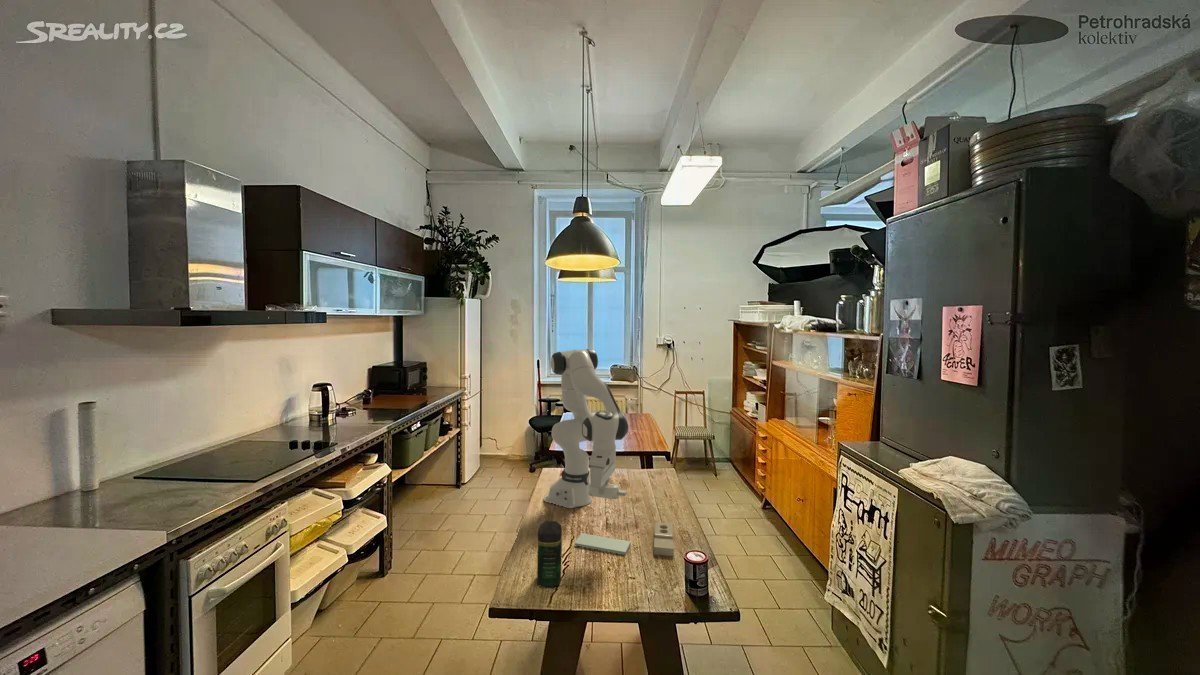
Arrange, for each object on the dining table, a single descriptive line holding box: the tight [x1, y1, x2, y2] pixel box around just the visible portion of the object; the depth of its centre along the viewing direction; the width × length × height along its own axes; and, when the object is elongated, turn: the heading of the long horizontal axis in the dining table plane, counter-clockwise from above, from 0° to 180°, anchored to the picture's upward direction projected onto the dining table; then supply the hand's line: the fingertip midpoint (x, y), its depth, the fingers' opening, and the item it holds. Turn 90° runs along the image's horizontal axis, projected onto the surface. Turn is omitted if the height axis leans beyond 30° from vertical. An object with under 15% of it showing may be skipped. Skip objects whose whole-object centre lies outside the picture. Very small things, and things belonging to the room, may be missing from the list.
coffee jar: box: [536, 520, 563, 588], centre depth 147 cm, size 10×8×19 cm
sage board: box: [574, 532, 632, 556], centre depth 170 cm, size 20×8×1 cm, turn 72°
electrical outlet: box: [653, 522, 675, 557], centre depth 172 cm, size 7×4×18 cm
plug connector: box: [588, 481, 628, 500], centre depth 168 cm, size 15×4×4 cm, turn 72°
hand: (603, 491), depth 169 cm, fingers closed on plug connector, 4 cm apart
